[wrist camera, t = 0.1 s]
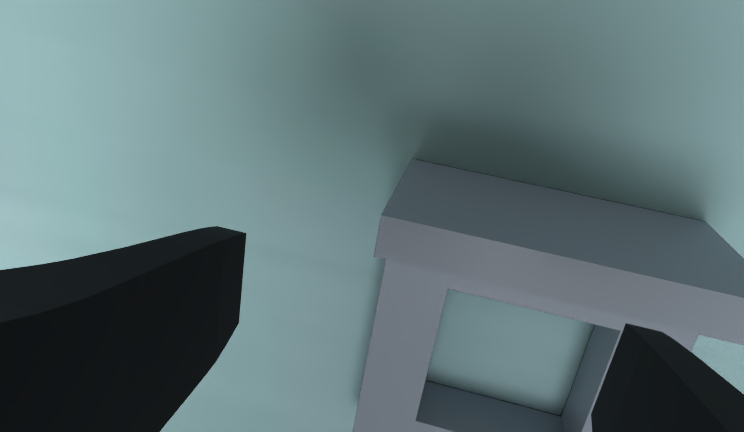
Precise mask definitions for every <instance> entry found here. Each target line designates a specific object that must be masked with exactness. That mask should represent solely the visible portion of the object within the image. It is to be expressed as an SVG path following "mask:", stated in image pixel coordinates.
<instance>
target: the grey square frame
mask: <svg viewBox="0 0 744 432" xmlns="http://www.w3.org/2000/svg"><path fill="white" fill-rule="evenodd" d="M374 257H377V258H381V259H386V262H385V267H384V272H383V277H382V282H381V288H380V293H379V298H378V303H377V308H376V313H375V319H374V324H373V329H372V334H371V339H370V345H369V350H368V355H367V360H366V365H365V370H364V376H363V381H362V386H361V391H360V396H359V401H358V407H357V412H356V417H355V422H354V427H353V432H592V421H591V413H592V410H593V408H594V405H595V402H596V400H597V397H598V394H599V392H600V389H601V387H602V384H603V381H604V379H605V376H606V374H607V371H608V368H609V366H610V363H611V361H612V358H613V355H614V353H615V350H616V347H617V345H618V342H619V340H620V337H621V334H622V332H623V329H624V327H625V324H626V323H627V324H632V325H636V326H640V327H644V328H649V329H653V330H657V331H661V332H663V333H665V334H666V335H668V336H670V337H671V338H673V339H674V340H675V341H677V342H678V343H680V344H681V345H682V346H684V347H685V348H686V349H688V350H689V351H690V352H691V351H692V349H693V346H694V344H695V342H696V340H697V337H698V335H703V336H707V337H712V338H716V339H720V340H724V341H728V342H732V343H737V344H741V345H744V258H743V257H742V256H741V255H740V254H738V253H737V252H736V251H735V250H734V249H733V248H732V247H731V246H730V245H729V244H728V243H727V242H726V241H725V240H724V239H723V238H722V237H721V236H720V235H719V234H718V233H717V232H716V231H715V230H714V229H713V228H712V227H711V226H710V225H709V224H708V223H707V222H704V221H700V220H695V219H690V218H686V217H681V216H676V215H672V214H667V213H662V212H658V211H653V210H648V209H644V208H639V207H634V206H630V205H625V204H620V203H616V202H611V201H606V200H602V199H597V198H592V197H588V196H583V195H578V194H574V193H569V192H564V191H560V190H555V189H550V188H546V187H541V186H536V185H532V184H527V183H522V182H518V181H513V180H508V179H504V178H499V177H494V176H490V175H485V174H480V173H476V172H471V171H466V170H462V169H457V168H452V167H448V166H443V165H438V164H434V163H429V162H424V161H420V160H415V159H412V160H411V162H410V164H409V166H408V167H407V169H406V171H405V173H404V175H403V176H402V178H401V180H400V182H399V184H398V186H397V187H396V189H395V191H394V193H393V195H392V196H391V198H390V200H389V202H388V204H387V206H386V207H385V209H384V211H383V213H382V215H381V219H380V225H379V230H378V236H377V241H376V247H375V252H374ZM448 289H451V290H455V291H459V292H463V293H467V294H471V295H475V296H480V297H484V298H488V299H492V300H496V301H500V302H504V303H508V304H512V305H517V306H521V307H525V308H529V309H533V310H537V311H541V312H545V313H550V314H554V315H558V316H562V317H566V318H570V319H574V320H578V321H583V322H587V323H591V324H595V326H594V329H593V331H592V334H591V337H590V339H589V342H588V345H587V348H586V350H585V353H584V356H583V359H582V361H581V364H580V367H579V370H578V372H577V375H576V378H575V381H574V383H573V386H572V389H571V391H570V394H569V397H568V400H567V402H566V405H565V408H564V411H563V413H562V416H557V415H554V414H550V413H546V412H542V411H538V410H535V409H531V408H527V407H523V406H520V405H516V404H512V403H508V402H505V401H501V400H497V399H493V398H489V397H486V396H482V395H478V394H474V393H471V392H467V391H463V390H459V389H456V388H452V387H448V386H444V385H440V384H437V383H433V382H429V381H425V380H426V376H427V371H428V367H429V363H430V359H431V355H432V351H433V347H434V343H435V339H436V335H437V331H438V326H439V322H440V318H441V314H442V310H443V306H444V302H445V298H446V294H447V290H448Z"/></svg>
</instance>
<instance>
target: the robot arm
mask: <svg viewBox="0 0 744 432" xmlns="http://www.w3.org/2000/svg"><path fill="white" fill-rule="evenodd" d="M245 242H246V233H243V232H239V231H235V230H230V229H226V228H222V227H218V226H216V227H207V228H201V229H196V230H192V231H187V232H183V233H179V234H175V235H171V236H167V237H163V238H160V239H156V240H152V241H148V242H144V243H140V244H136V245H132V246H128V247H124V248H120V249H115V250H110V251H106V252H101V253H97V254H92V255H88V256H83V257H79V258H74V259H69V260H64V261H59V262H53V263H47V264H41V265H34V266H27V267H20V268H13V269H6V270H0V432H160V430H161V429H162V428H163V427H164V426H165V424H166V423H167V422H168V421H169V419H170V418H171V417H172V416H173V414H174V413H175V412H176V411H177V410H178V408H179V407H180V406H181V405H182V403H183V402H184V401H185V400H186V399H187V397H188V396H189V395H190V394H191V392H192V391H193V390H194V389H195V387H196V386H197V385H198V384H199V382H200V381H201V380H202V379H203V377H204V376H205V375H206V374H207V372H208V371H209V370H210V369H211V367H212V366H213V365H214V363H215V362H216V360H217V359H218V357H219V356H220V354H221V352H222V351H223V349H224V347H225V346H226V344H227V342H228V341H229V339H230V337H231V335H232V334H233V332H234V330H235V328H236V327H237V325H238V323H239V314H240V302H241V290H242V278H243V266H244V254H245ZM591 421H592V432H744V394H742V393H741V392H740V391H739V390H737V389H736V388H735V387H734V386H732V385H731V384H730V383H729V382H727V381H726V380H725V379H724V378H723V377H721V376H720V375H719V374H718V373H716V372H715V371H714V370H713V369H711V368H710V367H709V366H708V365H706V364H705V363H704V362H703V361H702V360H700V359H699V358H698V357H697V356H695V355H694V354H693V353H691V352H690V351H689V350H688V349H686V348H685V347H684V346H682V345H681V344H680V343H678V342H677V341H675V340H674V339H673V338H671V337H670V336H668V335H666V334H665V333H663V332H661V331H657V330H653V329H649V328H644V327H640V326H636V325H632V324H627V323H626V324H625V327H624V329H623V332H622V334H621V337H620V340H619V342H618V345H617V347H616V350H615V353H614V355H613V358H612V361H611V363H610V366H609V368H608V371H607V374H606V376H605V379H604V381H603V384H602V387H601V389H600V392H599V394H598V397H597V400H596V402H595V405H594V408H593V410H592V413H591Z"/></svg>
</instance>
